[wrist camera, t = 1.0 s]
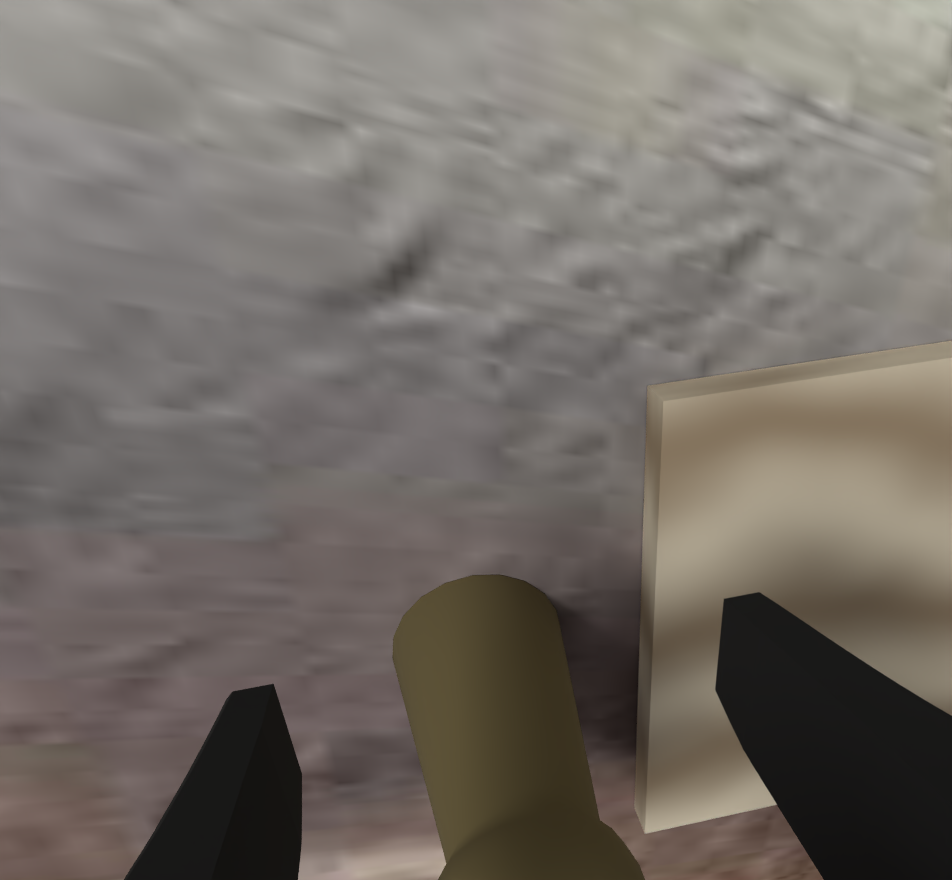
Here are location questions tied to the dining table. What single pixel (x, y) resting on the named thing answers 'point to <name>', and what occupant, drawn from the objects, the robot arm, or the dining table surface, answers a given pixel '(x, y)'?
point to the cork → (502, 736)
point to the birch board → (788, 547)
